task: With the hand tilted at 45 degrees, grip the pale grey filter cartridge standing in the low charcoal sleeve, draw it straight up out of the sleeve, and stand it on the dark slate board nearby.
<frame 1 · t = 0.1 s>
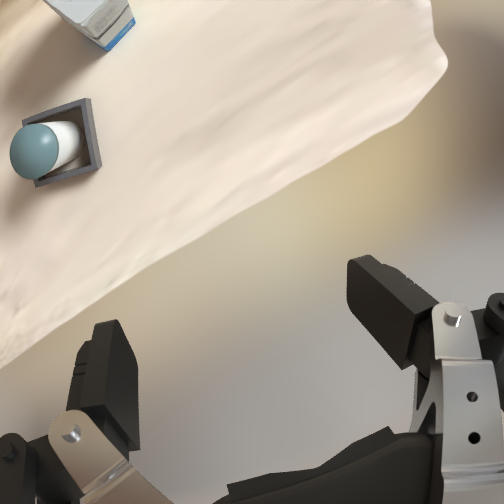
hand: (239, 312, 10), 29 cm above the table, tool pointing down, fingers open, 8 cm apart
cartridge: (50, 145, 26), in the sleeve
ink box: (99, 20, 26), on the table
sleeve: (64, 141, 31), on the table
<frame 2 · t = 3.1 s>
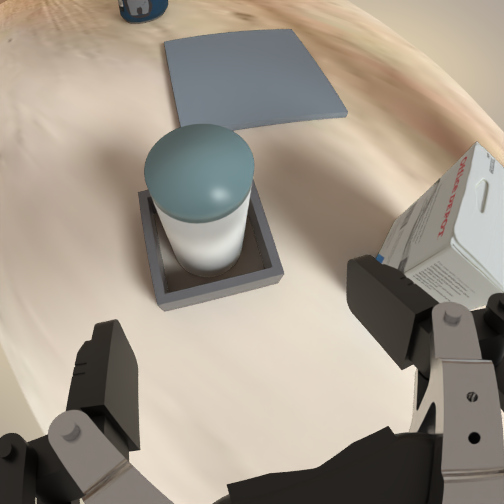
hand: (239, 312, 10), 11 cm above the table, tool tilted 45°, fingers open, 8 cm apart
cartridge: (204, 213, 19), in the sleeve
ink box: (397, 273, 24), on the table
sleeve: (207, 243, 23), on the table
soda can: (145, 16, 34), on the table
slate board: (247, 73, 30), on the table
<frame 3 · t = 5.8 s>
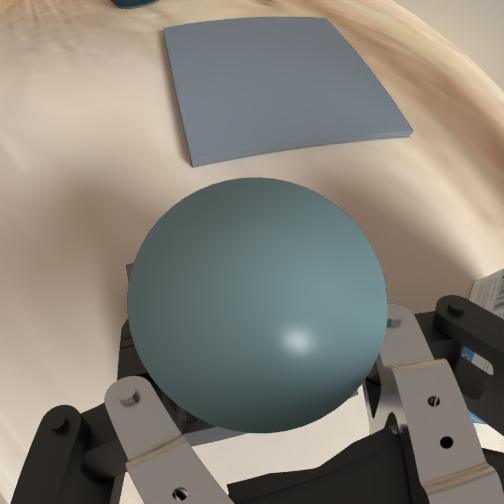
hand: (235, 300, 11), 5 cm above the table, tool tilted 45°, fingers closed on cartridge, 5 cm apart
cartridge: (244, 327, 10), in the sleeve, touching gripper
ink box: (474, 352, 16), on the table
sleeve: (237, 338, 15), on the table
soda can: (140, 0, 26), on the table
slate board: (277, 70, 22), on the table
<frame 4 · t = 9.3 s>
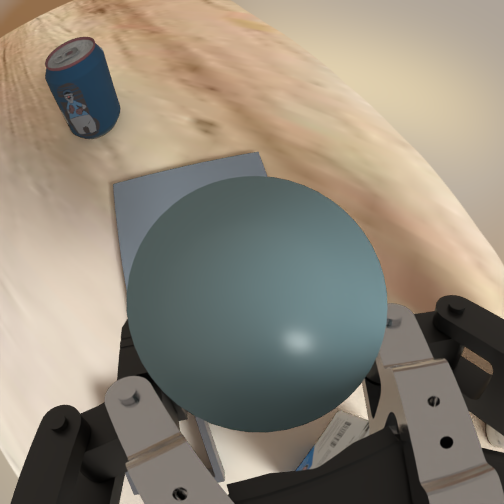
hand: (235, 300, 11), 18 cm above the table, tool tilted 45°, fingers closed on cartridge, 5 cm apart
cartridge: (244, 326, 10), point 18 cm above the table, touching gripper
ink box: (331, 455, 25), on the table
sleeve: (167, 441, 24), on the table
soda can: (97, 123, 35), on the table
slate board: (201, 237, 31), on the table
when the fingers open (7 cm above the table, at t = 13.0 s): cartridge drops 1 cm, resting on slate board.
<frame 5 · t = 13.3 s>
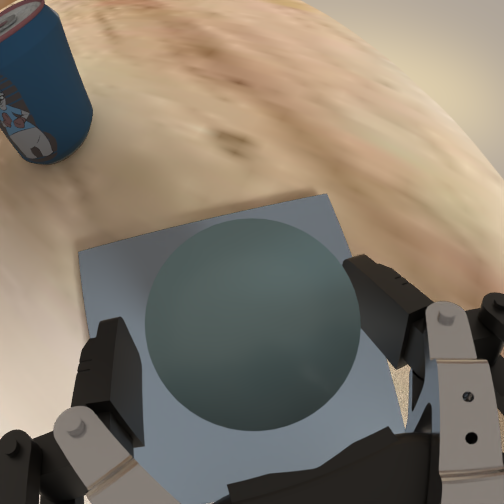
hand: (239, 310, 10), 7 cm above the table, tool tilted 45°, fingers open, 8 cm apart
cartridge: (243, 336, 12), on the slate board, point 6 cm above the table
soda can: (60, 138, 21), on the table
slate board: (239, 355, 17), on the table
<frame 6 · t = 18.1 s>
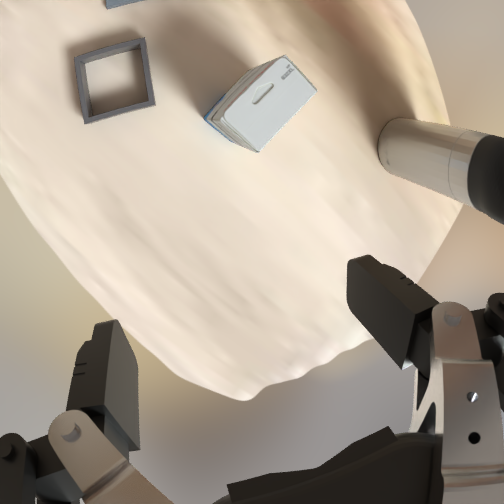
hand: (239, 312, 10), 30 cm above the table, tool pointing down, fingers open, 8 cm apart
ink box: (240, 105, 36), on the table
sleeve: (116, 81, 30), on the table
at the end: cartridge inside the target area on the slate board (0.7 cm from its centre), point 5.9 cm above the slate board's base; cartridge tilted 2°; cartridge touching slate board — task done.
